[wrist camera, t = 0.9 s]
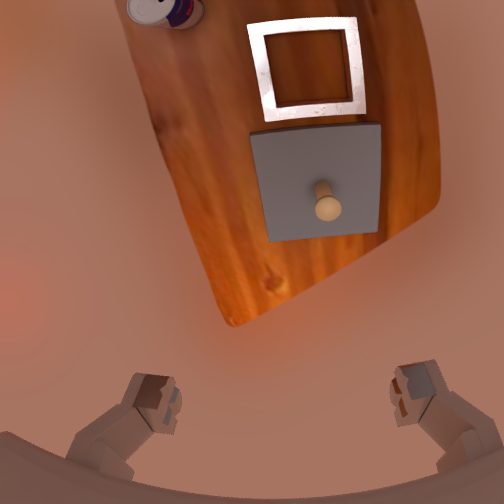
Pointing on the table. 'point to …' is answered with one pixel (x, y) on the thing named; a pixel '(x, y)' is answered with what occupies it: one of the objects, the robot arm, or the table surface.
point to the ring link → (312, 107)
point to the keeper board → (319, 179)
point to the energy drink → (166, 13)
